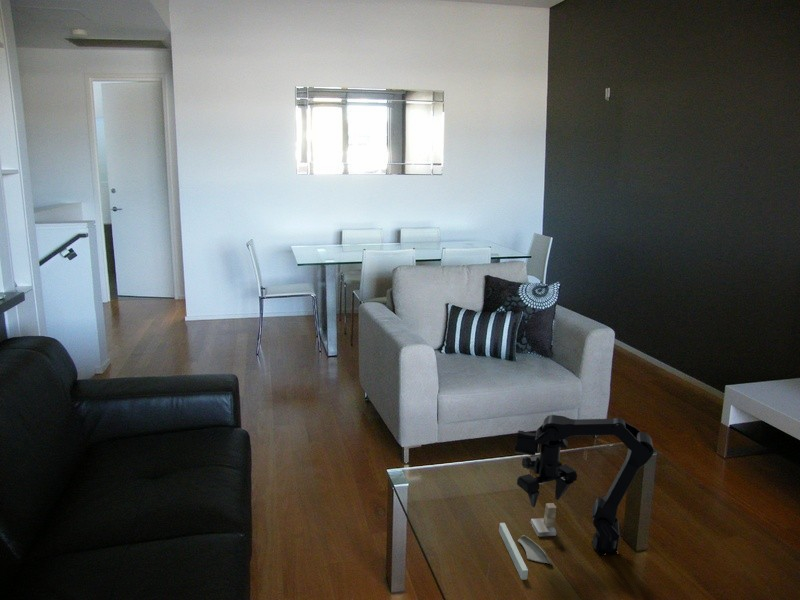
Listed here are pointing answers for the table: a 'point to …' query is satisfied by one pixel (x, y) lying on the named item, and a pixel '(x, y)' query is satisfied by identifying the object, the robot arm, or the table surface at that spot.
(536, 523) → the plate with square post
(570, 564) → the table surface
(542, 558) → the ceramic fragment
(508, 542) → the stop rail
